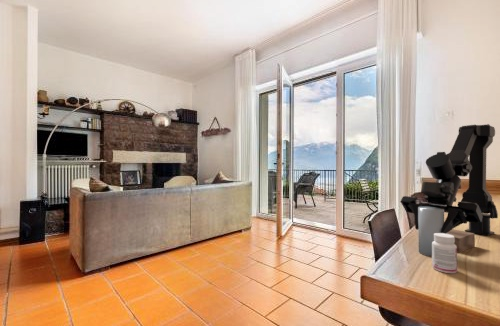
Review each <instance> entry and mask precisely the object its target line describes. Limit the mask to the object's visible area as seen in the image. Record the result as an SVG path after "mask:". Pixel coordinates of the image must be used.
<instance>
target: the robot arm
mask: <svg viewBox="0 0 500 326" xmlns="http://www.w3.org/2000/svg"><path fill="white" fill-rule="evenodd" d="M495 135H496V128H495V127H494V126H492V125H490V124H489V123H487V124H469V125H467V124H466V125H462V126H459V127H458V135H457V137H456V139H455V141H454V143H453V145H452V147H451V150H450V152H448V153H446V152H445V151H437V152H436V154H433V155H431V156H430V157H429V156H428V158H426V160H425V164H426V167H427V169H428V171H429V172H430V174H431V176H432V178H433V179H435V180H436V181H423V182H422V184H421V190H420V193H421V194H423V195H424V197H423V198H424V199H425V201H421V200H419V199H418V197H417V196H410V195H409V196H408V195H407V196H406V195H405V196H404V195H403V196H402V197H401V199H400V201H399V202H400V203H401V205H402V207H403V209H404V210H405V211H406V213H408V214H413V215H414V228H415V230H417V231H418V207H421V206H427V207H438V208H442V209H444V213H447V216H446V218H445V219H444V224H443V227H442V230H441V233H445V234H446V233H447V232H449V231H450V230H452V229H455V228H456V227H459V226H460V225H462V224H468V228H467V229H465V230H464V232H470V233H475V234H477V235H481V236H482V235H483V236H490V235H494V234H495V231H491V219H492V220H493V219H498V218H499V214H498V210H497V206H496V204H495V203H494V201H493V197H492V194H491V193H490V192H489V191H488V189H487V149H488V148H489V147H490V146H491V145H492V144H493V142H494V137H495ZM460 177H468V188H467V189H466V190H465V191H464V192H462V199H461V200H460V201H458V202H457V197H456V196H457V193H458V191H459V189H462V185H461V182H462V179H461V178H460ZM426 201H427V202H426ZM456 202H457V206H456V205H453V204H454V203H456Z"/></svg>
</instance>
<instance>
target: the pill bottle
mask: <svg viewBox="0 0 500 326" xmlns="http://www.w3.org/2000/svg"><path fill="white" fill-rule="evenodd" d="M434 240H435V241H433V242H432V257H431V264H432V265H431V266H432V268H433V269H435V270H436V271H439V272H441V273H446V274H456V273H457V272H458V254H457V253H458V252H457V246H456V245H455V244H454V243H455V237H454V236H453V235H450V234H445V233H434Z"/></svg>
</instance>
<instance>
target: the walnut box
mask: <svg viewBox="0 0 500 326" xmlns="http://www.w3.org/2000/svg"><path fill="white" fill-rule="evenodd" d="M446 234H450V235H453V236H454V237H455V243H454V244H455V245H456V246H457V253H462V252H464V251H466V250H468V249H472V248H475V247H476V246H475V243H476V241H475V236H476V235H475V234H476V233H470V232H465V230H464V231H463V230H460V229H459V230H458V229H455V228H453V229H452V230H450V231H449V232H447V233H446Z"/></svg>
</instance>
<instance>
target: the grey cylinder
mask: <svg viewBox="0 0 500 326" xmlns="http://www.w3.org/2000/svg"><path fill="white" fill-rule="evenodd" d="M444 222H445V212H444V209H442V208H438V207H427V206H421V207H418V230H417V231H418V232H417V234H418V235H417V236H418V237H417V238H418V239H417V240H418V252H419V254H422V255H424V256H426V257H431V258H432V242H433V241H435V240H434V233H441V230H442V227H443V224H444Z"/></svg>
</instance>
